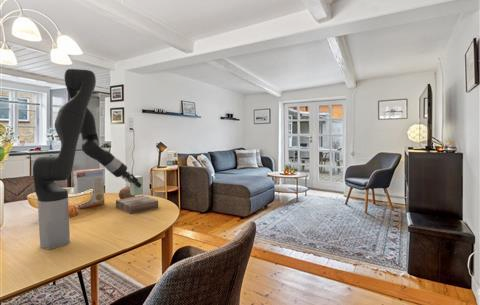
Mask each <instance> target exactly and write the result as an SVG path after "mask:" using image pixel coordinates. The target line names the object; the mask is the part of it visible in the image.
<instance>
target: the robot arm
mask: <svg viewBox="0 0 480 305" xmlns="http://www.w3.org/2000/svg"><path fill="white" fill-rule="evenodd" d="M63 79H64V83H65V87H66V90H67V94H68V96H69V100H68V101H67V102H66V103H64V104H63V105H62V106H61V107H60V108H59V109H58V112H57V115H56V118H55V121H54V129H55V132H56V134H57V136H58V139H59V140H60V146H61V147H60V151H59V154H58V155H42V156H39V157H37V158H36V159H35V160H34V162H33V165H32V175H33V176H32V177H33V182H34V183H33V185H34V191H35V194H36V197H37V210H38V212H37V213H38V231H39V234H38V236H39V247H40V248H42V249H47V250H52V249H55V248H60V247H64V246H67V245H69V243H70V241H71V236H70V211H69V210H70V208H69V191H68V190H67V189H66V188H63V187H61V186H59V185H57V184H56V183H55V182H60V181H62V182H63V181H67V179H69V178H70V176H71V174H72V171H73V167H74V163H75V157H76V156H75V155H76V152H77V145H78V141H79V138H80V135H81V138H82V144H81V150H82V152H83V153H84V154H85V155H87V156H88V157H89V158H91V159H93V160H96V161H97V162H99V164H100V165H102V166H103V167H104V168H105V169H106V170H107V171H108V172H109V173H110V174H112V175H113V176H114V177H115V178H119V177H120V178H122V179H123V180H124V181H125V182H128V183H130V182H132V183H133V184H135V185H136V186H137V187H138V188H140V187H141V184H140V183H139V182H138V179H136V178H135V177H134V176H135V175H134V174H133V173H131V172H130V171H127V170H128V166H127V165H125V164H124V162H122V161H121V160H120V159H118V157H116V156H115V155H113V153H111V152H110V151H109V150H107V149H103V148H101V147H100V146H99V145H100V144H99V137H98V134H97V125H96V120H95V117H94V114H93V112H92V111H91V110H90V108H89V107H88V106H89V103H90V101H91V98H92V95H93V93H94V91H95V88H96V82H97V77H96V74H95V72H93V71H92V70H87V69H79V68H68V69H66V70H65V72H64V78H63ZM134 180H135V181H134Z"/></svg>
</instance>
